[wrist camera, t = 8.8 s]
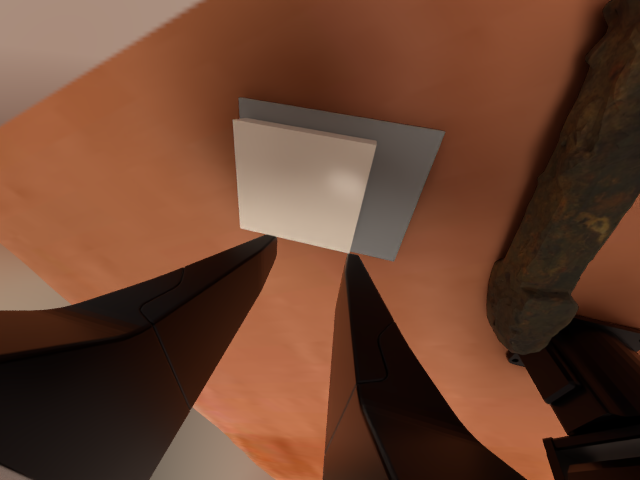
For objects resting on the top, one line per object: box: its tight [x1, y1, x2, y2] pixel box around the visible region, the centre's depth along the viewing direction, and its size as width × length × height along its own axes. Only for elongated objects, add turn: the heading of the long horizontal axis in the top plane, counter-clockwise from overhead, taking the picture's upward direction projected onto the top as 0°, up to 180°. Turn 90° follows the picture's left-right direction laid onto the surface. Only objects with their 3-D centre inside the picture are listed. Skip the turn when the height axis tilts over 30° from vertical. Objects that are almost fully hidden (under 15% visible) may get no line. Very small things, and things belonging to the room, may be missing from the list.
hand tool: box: [487, 0, 640, 355], centre depth 12 cm, size 19×4×5 cm, turn 0°
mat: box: [239, 97, 445, 261], centre depth 15 cm, size 12×9×1 cm
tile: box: [233, 118, 377, 253], centre depth 15 cm, size 2×7×8 cm
